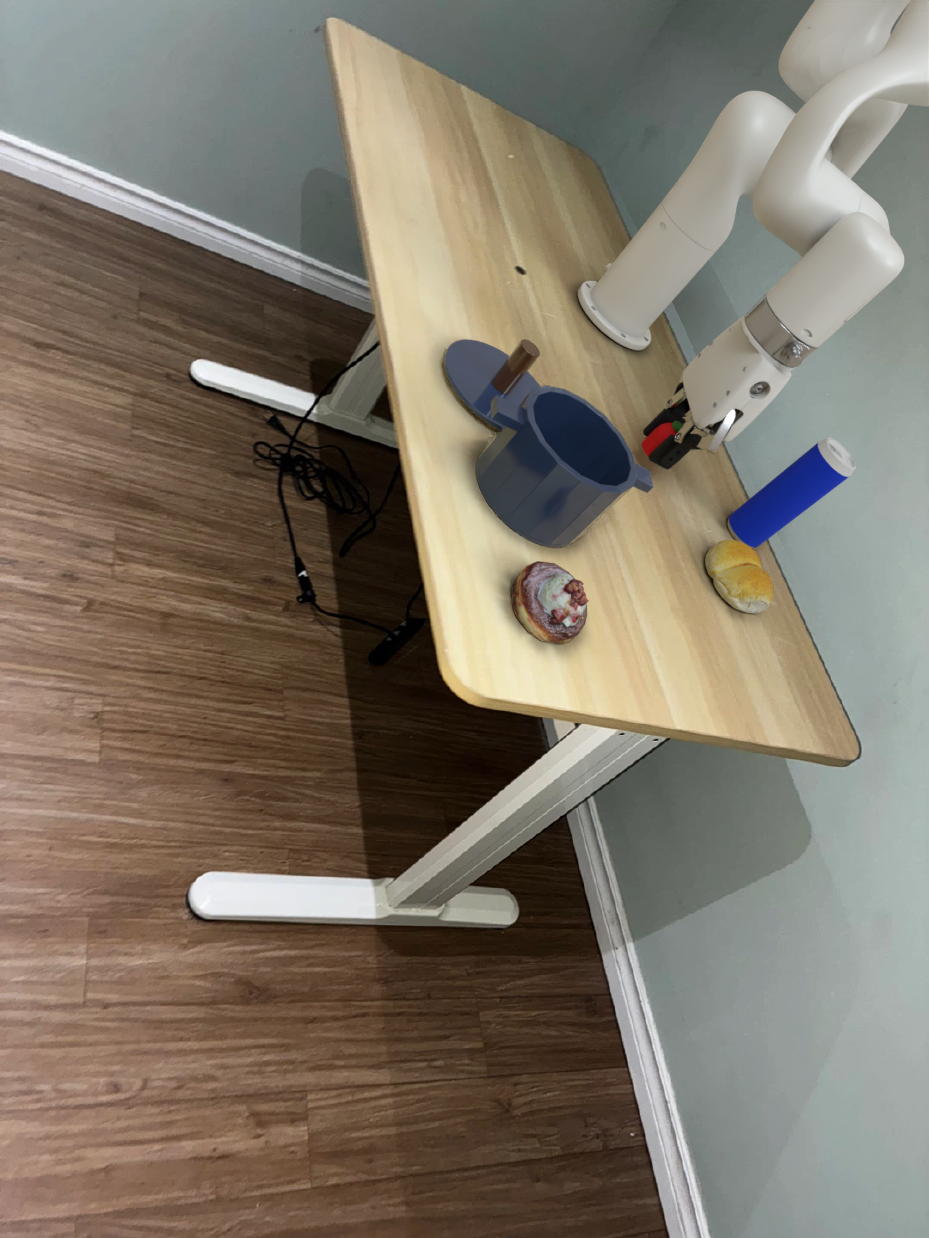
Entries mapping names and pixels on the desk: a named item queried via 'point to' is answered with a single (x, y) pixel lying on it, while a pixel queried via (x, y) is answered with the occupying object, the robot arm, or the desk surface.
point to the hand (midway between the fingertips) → (656, 449)
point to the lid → (490, 374)
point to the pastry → (549, 602)
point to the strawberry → (660, 436)
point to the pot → (555, 466)
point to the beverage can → (791, 492)
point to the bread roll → (739, 576)
